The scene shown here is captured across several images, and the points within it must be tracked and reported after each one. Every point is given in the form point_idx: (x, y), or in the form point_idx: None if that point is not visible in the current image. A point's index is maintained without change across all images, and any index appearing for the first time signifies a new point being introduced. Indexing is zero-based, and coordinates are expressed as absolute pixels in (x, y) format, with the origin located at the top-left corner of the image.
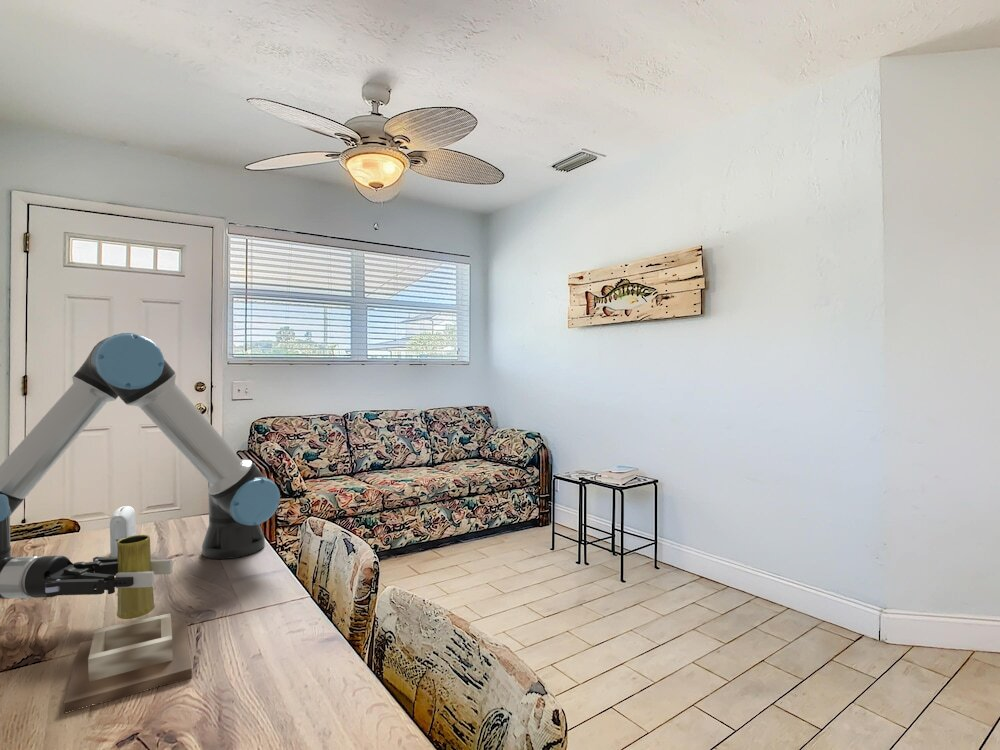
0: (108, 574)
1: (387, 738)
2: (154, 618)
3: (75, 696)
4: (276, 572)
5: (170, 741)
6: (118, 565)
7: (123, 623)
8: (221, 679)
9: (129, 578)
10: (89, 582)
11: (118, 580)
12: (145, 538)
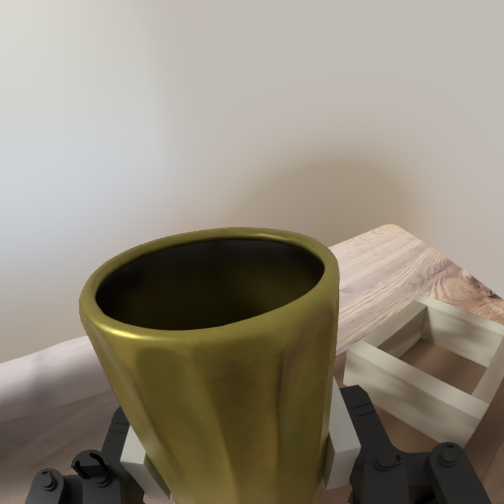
0: (366, 493)
1: (397, 227)
2: (380, 357)
3: None
4: (45, 356)
5: (475, 278)
6: (320, 445)
7: (429, 393)
8: (400, 293)
9: (355, 388)
10: (480, 486)
11: (379, 425)
12: (124, 280)
